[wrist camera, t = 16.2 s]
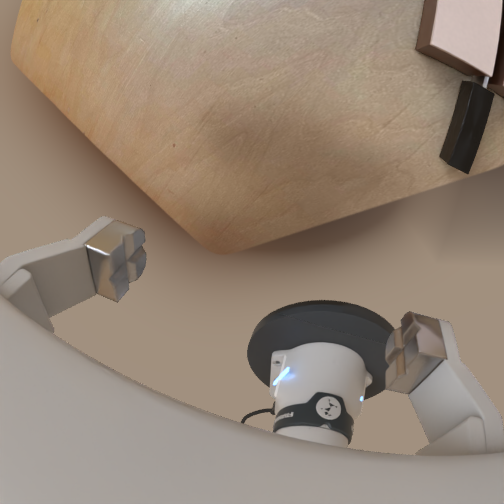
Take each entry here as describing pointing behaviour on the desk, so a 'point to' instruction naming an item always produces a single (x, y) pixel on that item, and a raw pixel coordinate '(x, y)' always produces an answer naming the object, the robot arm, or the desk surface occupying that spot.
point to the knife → (467, 124)
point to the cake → (466, 37)
